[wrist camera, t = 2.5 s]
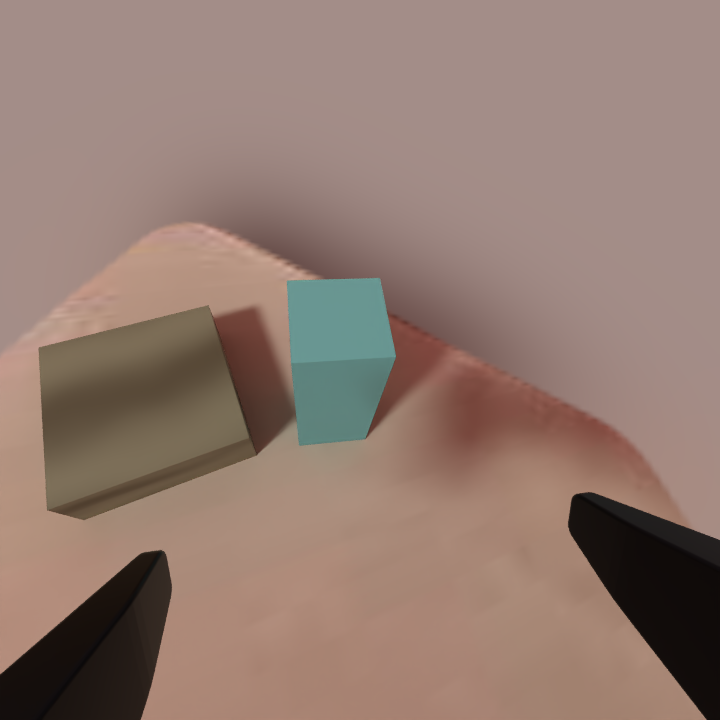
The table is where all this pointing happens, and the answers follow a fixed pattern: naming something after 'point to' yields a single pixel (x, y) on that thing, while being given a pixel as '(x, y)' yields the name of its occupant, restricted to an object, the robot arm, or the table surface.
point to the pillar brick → (338, 356)
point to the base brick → (137, 412)
